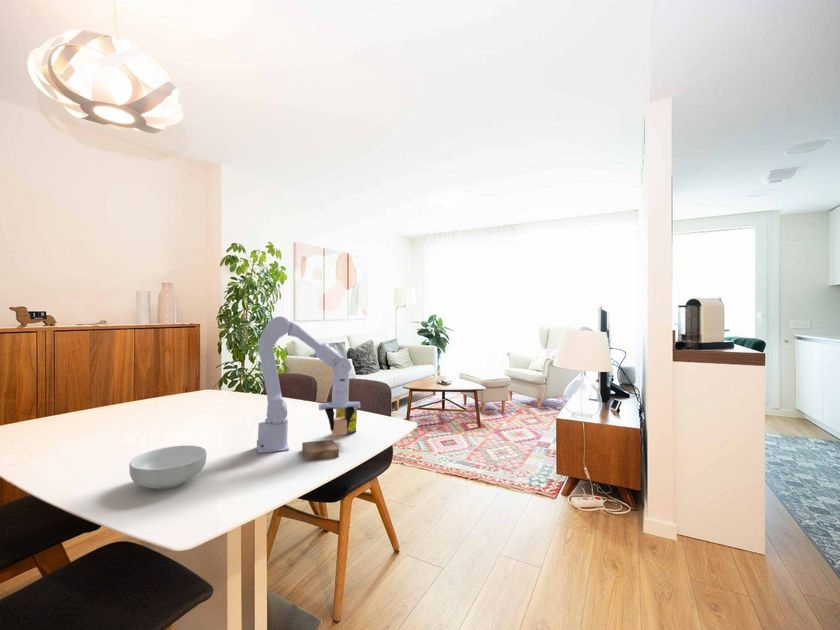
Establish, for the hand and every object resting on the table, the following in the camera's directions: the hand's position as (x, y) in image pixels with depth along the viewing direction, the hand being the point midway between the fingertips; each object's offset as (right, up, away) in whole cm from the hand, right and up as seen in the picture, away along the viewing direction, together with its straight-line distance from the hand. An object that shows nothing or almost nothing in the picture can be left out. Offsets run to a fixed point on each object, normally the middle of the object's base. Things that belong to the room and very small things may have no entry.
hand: (339, 429), depth 134 cm
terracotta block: (0, -2, 0) cm, 2 cm away
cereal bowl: (-37, -3, -36) cm, 51 cm away
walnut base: (-4, -4, -12) cm, 13 cm away
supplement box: (0, -5, +12) cm, 13 cm away
